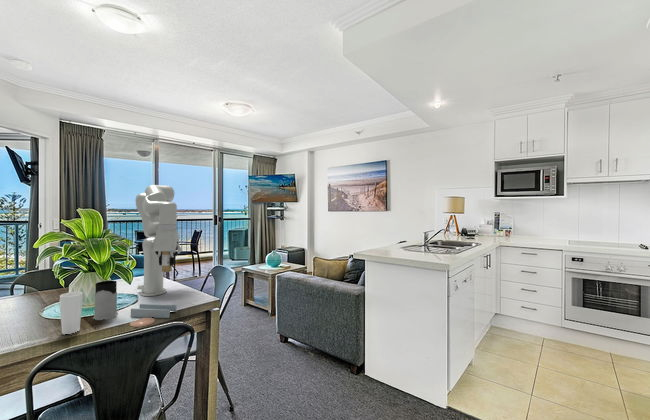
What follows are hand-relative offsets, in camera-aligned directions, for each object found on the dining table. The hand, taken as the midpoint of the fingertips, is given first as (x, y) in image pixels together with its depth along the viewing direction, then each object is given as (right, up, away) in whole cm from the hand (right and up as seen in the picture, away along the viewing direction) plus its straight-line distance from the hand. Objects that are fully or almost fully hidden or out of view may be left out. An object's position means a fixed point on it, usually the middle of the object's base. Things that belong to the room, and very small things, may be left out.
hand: (166, 264), depth 141 cm
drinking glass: (-22, -21, -28) cm, 42 cm away
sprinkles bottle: (0, -4, 0) cm, 4 cm away
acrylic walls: (-1, -21, -9) cm, 23 cm away
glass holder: (-22, -21, -9) cm, 31 cm away
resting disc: (-1, -21, -18) cm, 28 cm away
